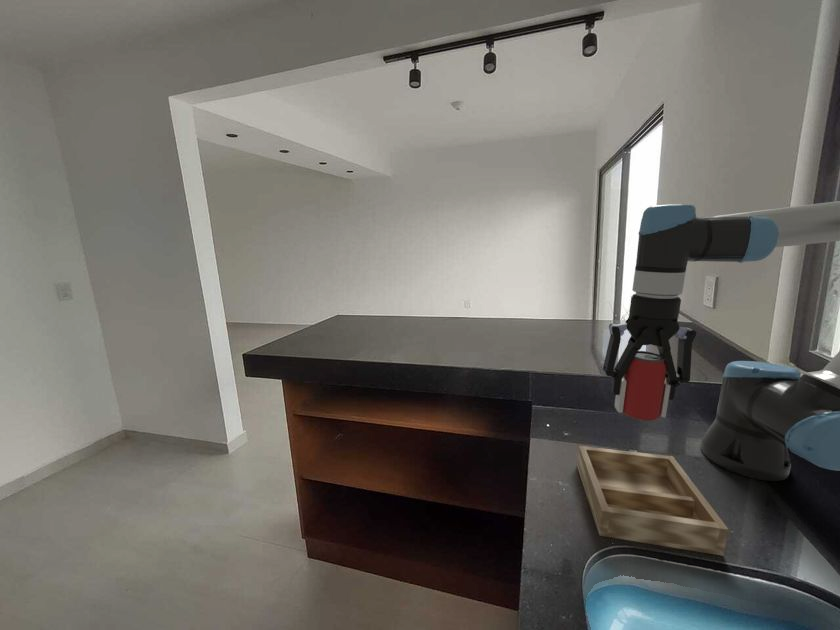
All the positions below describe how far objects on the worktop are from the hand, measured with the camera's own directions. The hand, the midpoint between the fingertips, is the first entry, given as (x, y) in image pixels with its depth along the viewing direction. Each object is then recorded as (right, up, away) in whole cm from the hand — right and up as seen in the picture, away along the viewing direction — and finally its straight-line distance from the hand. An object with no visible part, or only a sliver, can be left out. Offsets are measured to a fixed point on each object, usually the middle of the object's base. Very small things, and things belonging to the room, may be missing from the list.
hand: (639, 411), depth 69 cm
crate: (0, -18, 0) cm, 18 cm away
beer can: (0, -1, 0) cm, 1 cm away
